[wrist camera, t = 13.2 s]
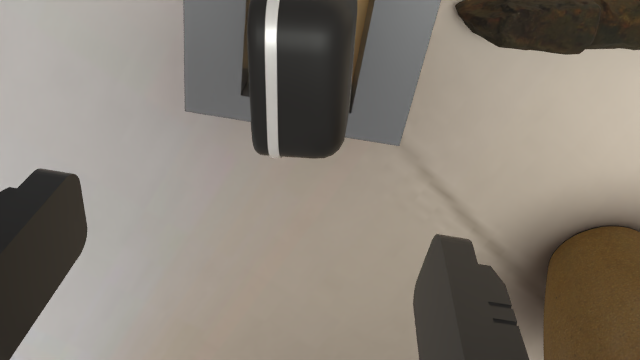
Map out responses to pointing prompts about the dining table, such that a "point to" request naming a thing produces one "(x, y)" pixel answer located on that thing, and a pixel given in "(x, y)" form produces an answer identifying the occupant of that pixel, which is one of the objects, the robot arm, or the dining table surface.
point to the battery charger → (300, 75)
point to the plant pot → (594, 297)
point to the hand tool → (555, 24)
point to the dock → (368, 64)
